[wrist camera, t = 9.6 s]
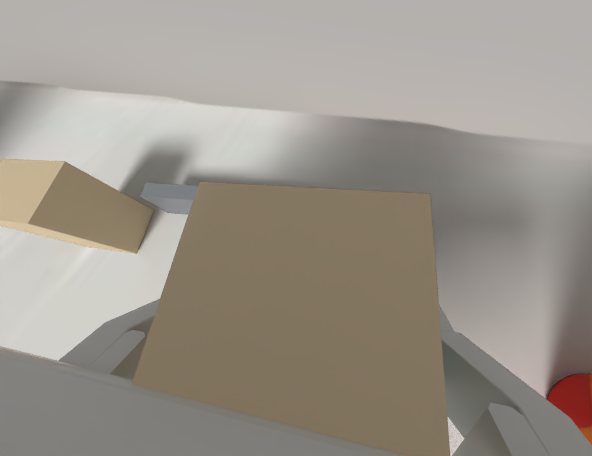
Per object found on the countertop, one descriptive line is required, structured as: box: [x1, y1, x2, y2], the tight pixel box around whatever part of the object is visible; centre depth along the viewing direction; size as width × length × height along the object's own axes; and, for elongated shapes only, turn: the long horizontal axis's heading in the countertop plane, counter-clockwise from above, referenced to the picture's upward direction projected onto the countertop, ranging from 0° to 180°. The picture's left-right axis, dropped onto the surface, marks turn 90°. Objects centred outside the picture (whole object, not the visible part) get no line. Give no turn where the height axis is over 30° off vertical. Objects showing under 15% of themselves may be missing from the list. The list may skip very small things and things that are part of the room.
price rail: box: [140, 183, 198, 214], centre depth 16 cm, size 20×1×3 cm, turn 82°
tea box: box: [0, 159, 154, 254], centre depth 16 cm, size 5×4×7 cm
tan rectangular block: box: [132, 182, 450, 456], centre depth 8 cm, size 5×5×10 cm
